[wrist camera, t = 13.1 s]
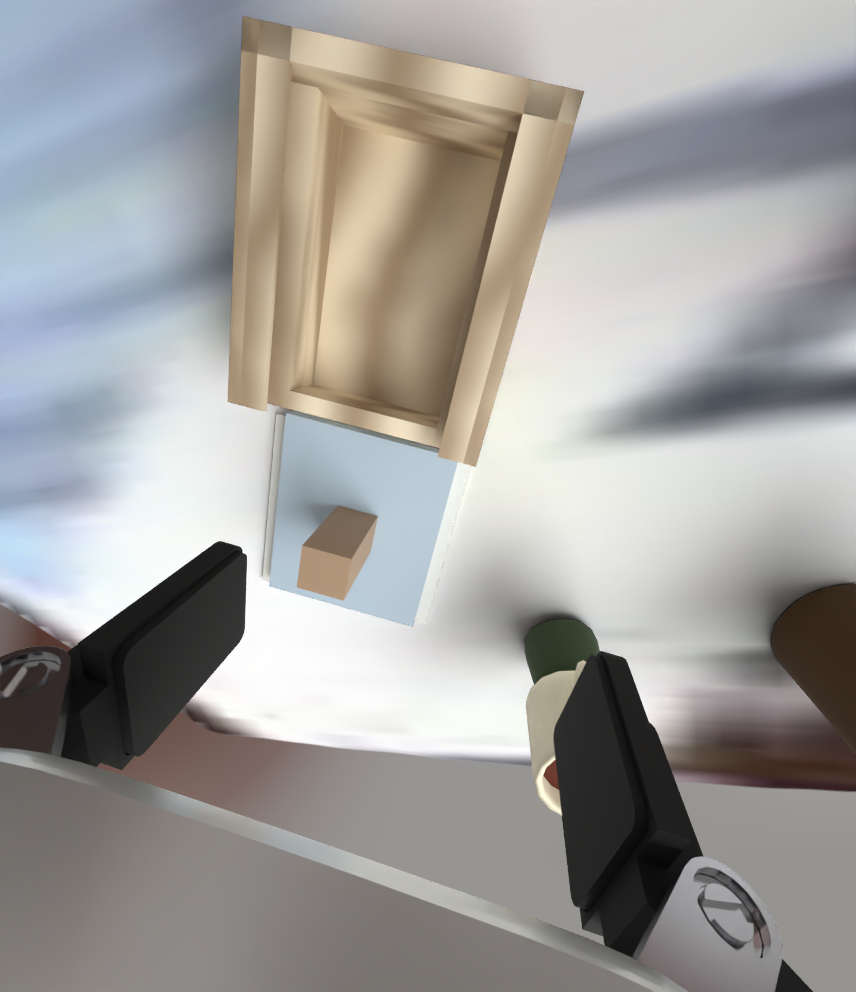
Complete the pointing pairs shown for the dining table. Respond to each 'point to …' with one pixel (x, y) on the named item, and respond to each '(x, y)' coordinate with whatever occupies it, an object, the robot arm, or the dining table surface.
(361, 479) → the lid
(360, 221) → the wooden tray
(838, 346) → the dining table surface
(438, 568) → the felt mat
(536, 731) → the character mug
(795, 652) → the olive oil
